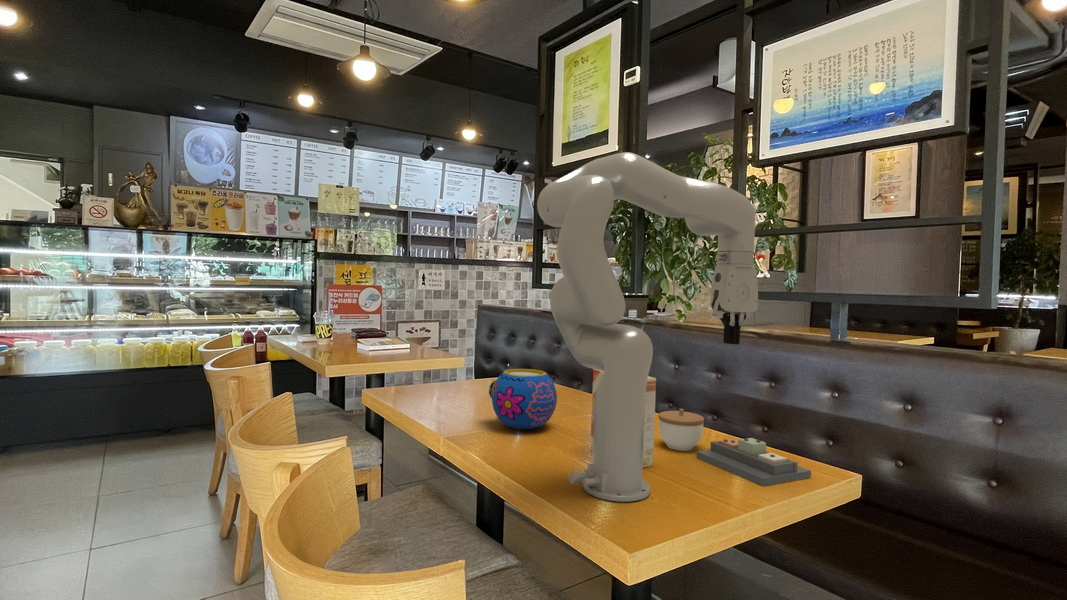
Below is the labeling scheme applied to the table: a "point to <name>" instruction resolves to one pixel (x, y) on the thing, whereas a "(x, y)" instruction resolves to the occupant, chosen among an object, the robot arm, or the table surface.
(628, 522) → the table surface
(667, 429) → the lidded jar
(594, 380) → the coffeecake box
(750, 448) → the tile two
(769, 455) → the tile one
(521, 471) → the table surface
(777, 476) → the board
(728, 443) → the tile three
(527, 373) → the ceramic pot
